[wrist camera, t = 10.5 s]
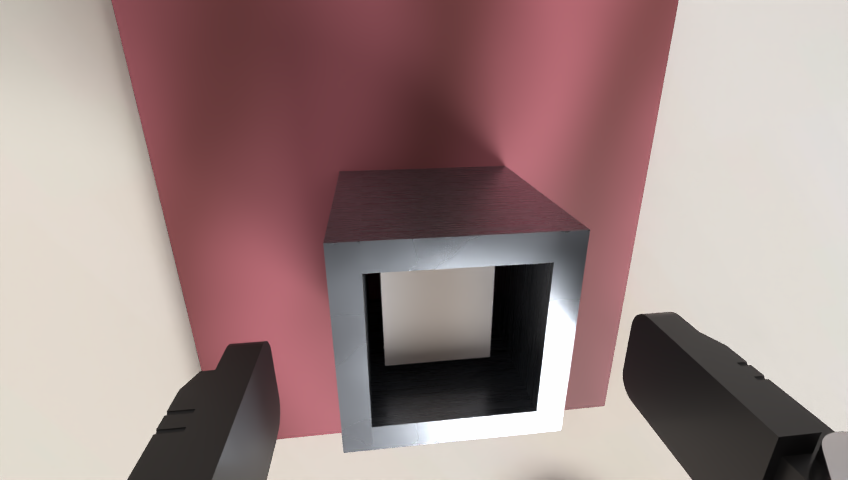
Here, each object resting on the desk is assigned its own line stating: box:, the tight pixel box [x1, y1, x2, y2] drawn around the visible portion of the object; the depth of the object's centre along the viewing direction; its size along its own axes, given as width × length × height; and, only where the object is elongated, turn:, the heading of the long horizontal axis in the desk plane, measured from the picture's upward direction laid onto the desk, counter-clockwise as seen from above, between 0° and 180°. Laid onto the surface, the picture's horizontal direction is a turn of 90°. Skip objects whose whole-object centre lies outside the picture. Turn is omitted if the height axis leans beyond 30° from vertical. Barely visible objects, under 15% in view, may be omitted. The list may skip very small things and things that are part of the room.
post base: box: [112, 0, 678, 439], centre depth 14 cm, size 16×16×6 cm
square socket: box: [323, 166, 590, 453], centre depth 13 cm, size 5×5×6 cm
